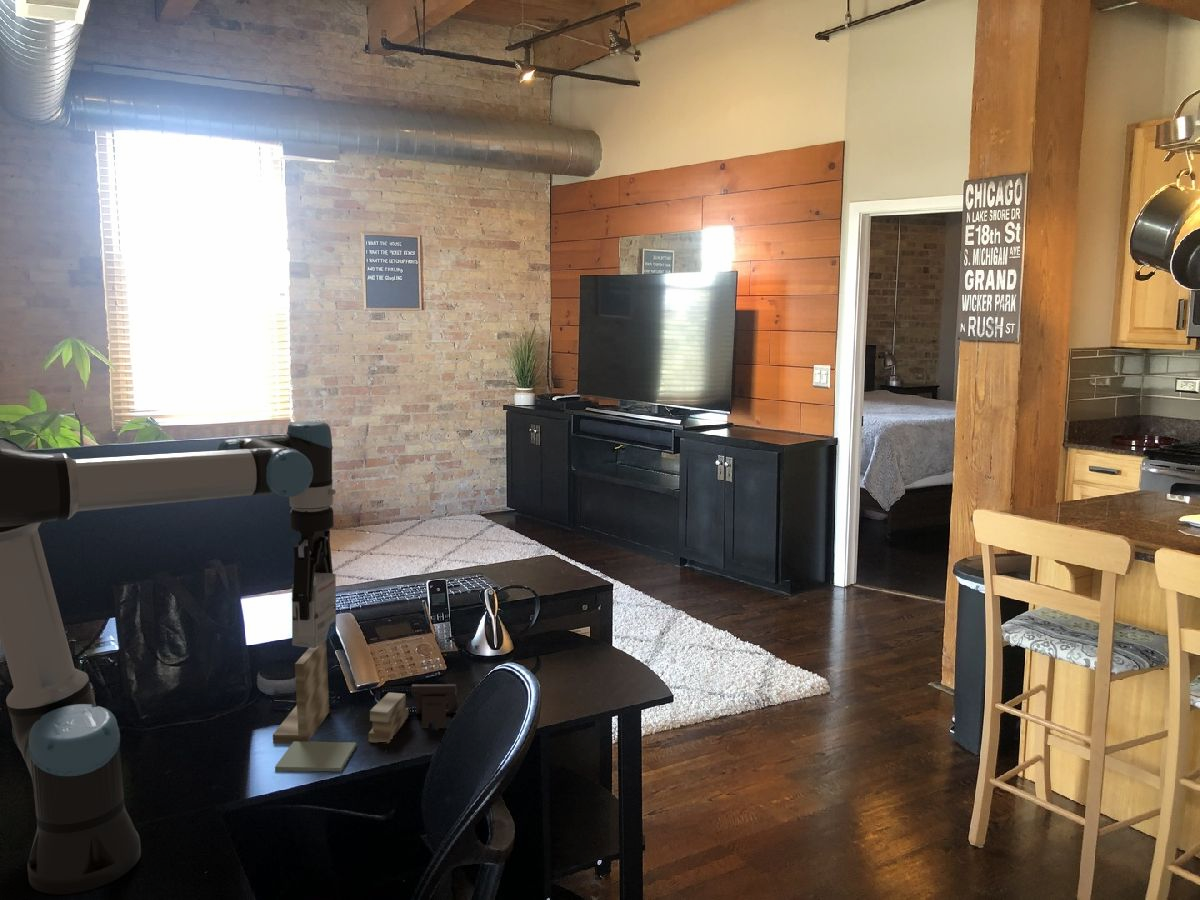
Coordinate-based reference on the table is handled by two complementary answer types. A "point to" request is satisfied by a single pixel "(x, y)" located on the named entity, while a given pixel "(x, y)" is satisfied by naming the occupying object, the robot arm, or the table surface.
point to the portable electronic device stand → (435, 702)
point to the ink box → (318, 612)
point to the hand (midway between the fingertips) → (314, 626)
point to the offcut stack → (388, 717)
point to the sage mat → (316, 756)
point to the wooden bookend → (307, 698)
